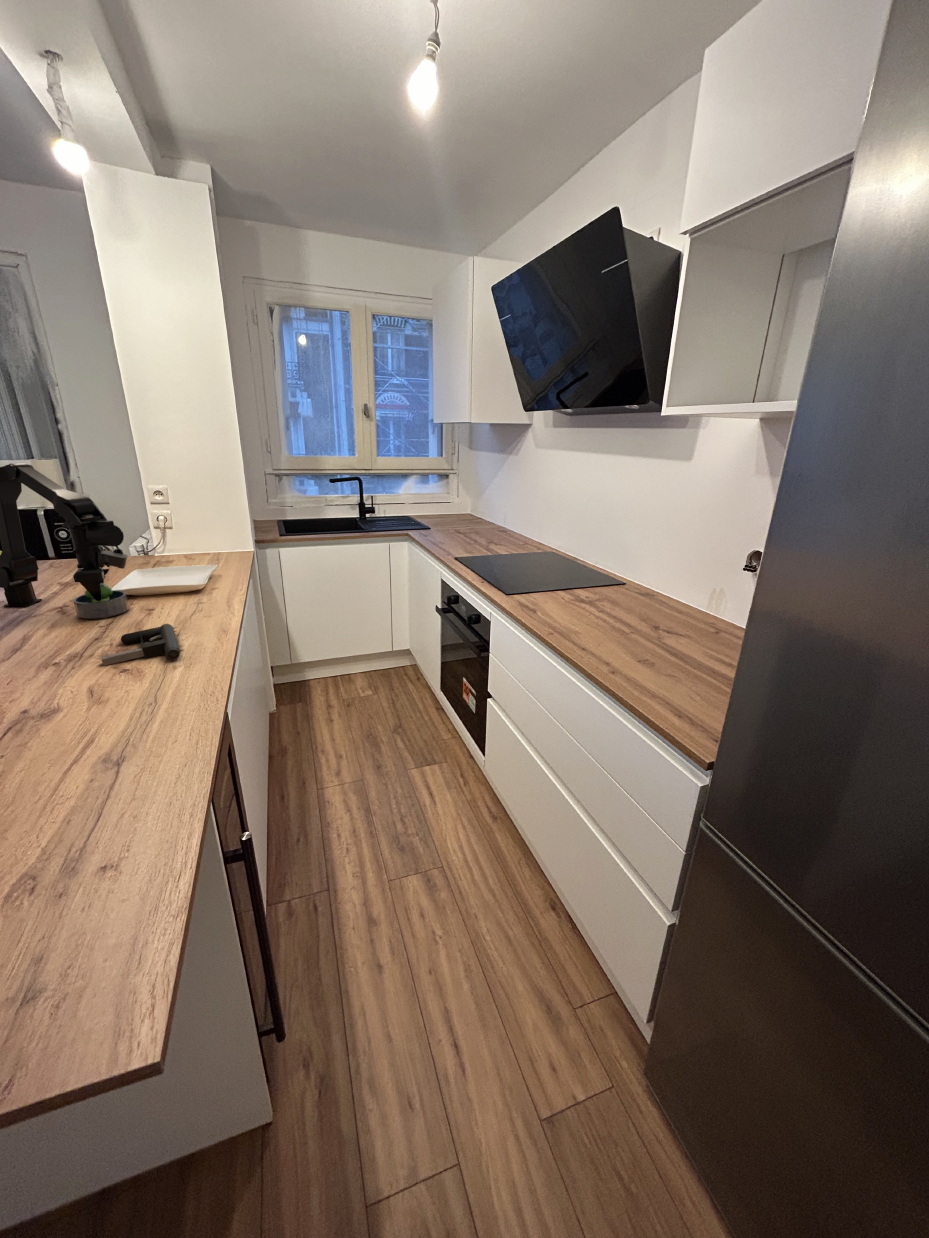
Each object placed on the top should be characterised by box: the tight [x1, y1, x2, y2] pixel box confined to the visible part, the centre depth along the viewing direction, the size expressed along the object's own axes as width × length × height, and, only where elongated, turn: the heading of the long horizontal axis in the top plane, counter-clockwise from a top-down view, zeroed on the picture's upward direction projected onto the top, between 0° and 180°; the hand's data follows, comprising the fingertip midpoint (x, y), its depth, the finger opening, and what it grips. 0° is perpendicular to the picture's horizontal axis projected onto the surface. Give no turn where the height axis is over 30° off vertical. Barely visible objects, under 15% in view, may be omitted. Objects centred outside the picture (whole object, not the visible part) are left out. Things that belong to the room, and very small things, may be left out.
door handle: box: [100, 623, 184, 667], centre depth 115 cm, size 3×20×16 cm
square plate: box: [110, 564, 218, 597], centre depth 166 cm, size 27×27×4 cm
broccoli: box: [84, 582, 113, 603], centre depth 138 cm, size 6×5×8 cm
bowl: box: [72, 590, 130, 620], centre depth 139 cm, size 12×12×5 cm
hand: (100, 598), depth 138 cm, fingers closed on broccoli, 5 cm apart
